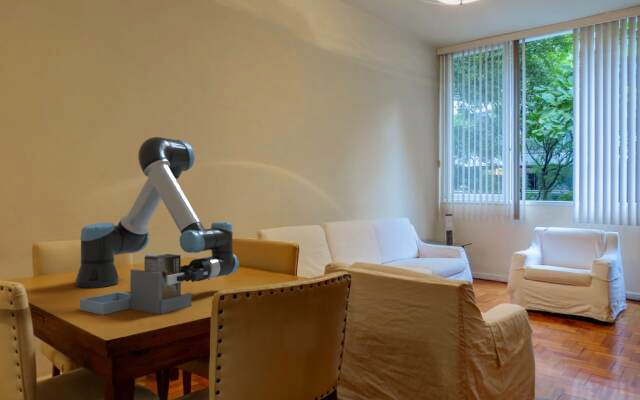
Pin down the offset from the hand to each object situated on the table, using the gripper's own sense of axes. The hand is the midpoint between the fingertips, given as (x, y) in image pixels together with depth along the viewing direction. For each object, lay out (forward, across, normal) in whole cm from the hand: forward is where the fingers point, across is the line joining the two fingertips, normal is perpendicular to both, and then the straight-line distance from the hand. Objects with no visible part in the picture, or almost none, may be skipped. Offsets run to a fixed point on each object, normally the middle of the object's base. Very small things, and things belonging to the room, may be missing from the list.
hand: (153, 278), depth 142 cm
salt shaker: (-20, +24, -10) cm, 33 cm away
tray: (+5, +12, -10) cm, 17 cm away
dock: (-4, 0, -10) cm, 10 cm away
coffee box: (-4, 0, -10) cm, 10 cm away
